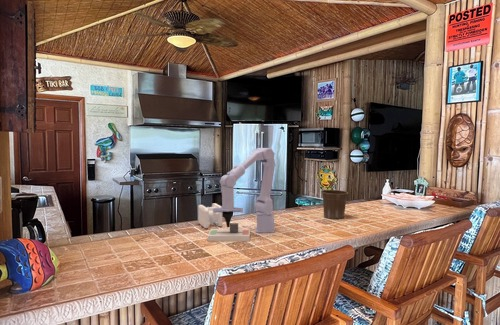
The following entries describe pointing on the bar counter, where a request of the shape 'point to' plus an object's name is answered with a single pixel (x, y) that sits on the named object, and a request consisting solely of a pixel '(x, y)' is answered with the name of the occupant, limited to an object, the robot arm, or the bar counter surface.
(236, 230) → the knob
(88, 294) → the bar counter surface
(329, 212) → the plant pot
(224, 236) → the switch plate
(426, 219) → the bar counter surface
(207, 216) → the cable organizer
